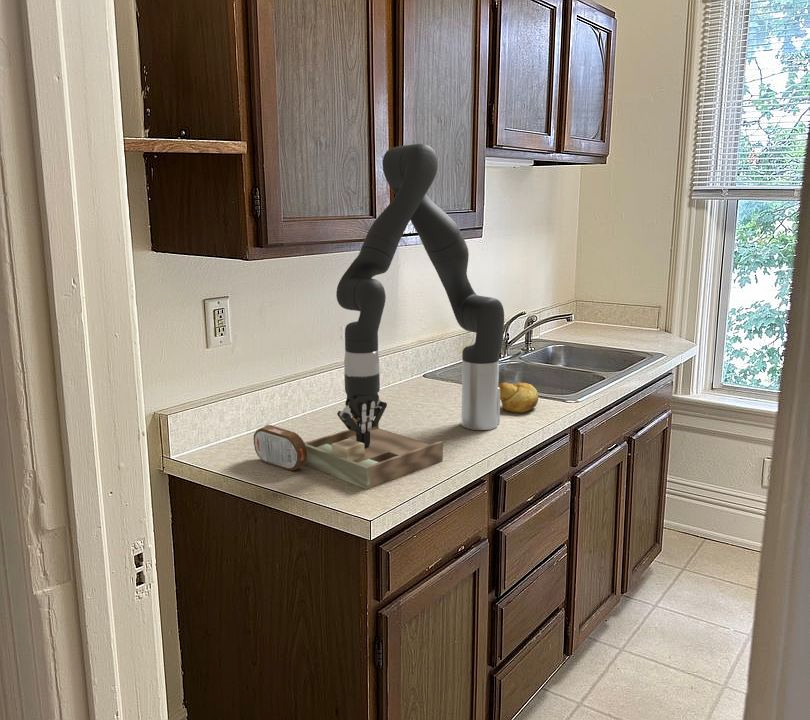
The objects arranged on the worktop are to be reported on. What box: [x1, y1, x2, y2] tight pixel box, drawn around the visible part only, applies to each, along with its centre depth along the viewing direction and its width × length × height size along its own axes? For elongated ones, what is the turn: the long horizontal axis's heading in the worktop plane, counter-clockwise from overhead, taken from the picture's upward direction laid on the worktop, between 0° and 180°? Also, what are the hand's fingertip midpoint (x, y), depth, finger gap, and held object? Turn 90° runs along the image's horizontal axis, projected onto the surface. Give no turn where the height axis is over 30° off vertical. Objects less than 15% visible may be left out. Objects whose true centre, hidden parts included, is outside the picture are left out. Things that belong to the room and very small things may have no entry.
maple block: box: [331, 439, 365, 461], centre depth 163 cm, size 5×5×3 cm
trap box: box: [304, 422, 444, 490], centre depth 168 cm, size 23×22×4 cm
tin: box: [253, 424, 308, 472], centre depth 166 cm, size 15×3×8 cm, turn 51°
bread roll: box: [498, 381, 540, 414], centre depth 208 cm, size 13×10×8 cm
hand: (363, 447), depth 166 cm, fingers closed
